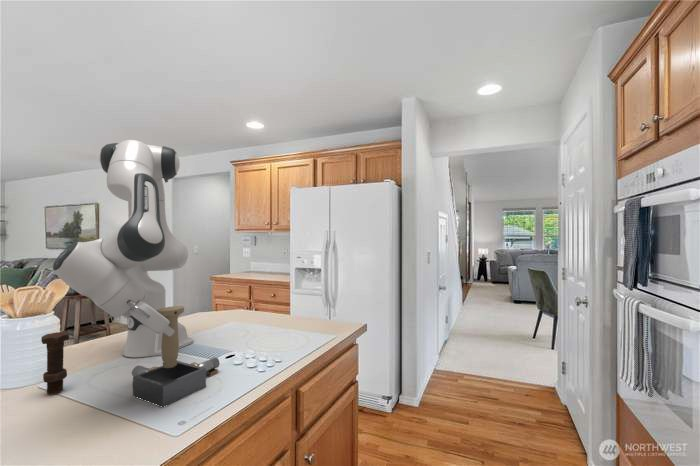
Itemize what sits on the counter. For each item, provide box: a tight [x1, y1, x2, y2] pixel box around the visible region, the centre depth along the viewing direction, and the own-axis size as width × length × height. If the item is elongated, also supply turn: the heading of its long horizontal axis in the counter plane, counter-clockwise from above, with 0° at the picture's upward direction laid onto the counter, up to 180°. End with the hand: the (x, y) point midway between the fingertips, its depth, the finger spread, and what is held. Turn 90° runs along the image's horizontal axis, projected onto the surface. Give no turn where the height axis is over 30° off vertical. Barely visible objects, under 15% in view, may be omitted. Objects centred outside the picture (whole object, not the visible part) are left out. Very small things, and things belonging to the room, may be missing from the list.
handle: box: [156, 305, 185, 368], centre depth 87 cm, size 5×6×15 cm
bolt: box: [41, 331, 70, 396], centre depth 86 cm, size 6×5×15 cm
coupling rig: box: [131, 357, 220, 408], centre depth 92 cm, size 20×20×5 cm
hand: (169, 331), depth 86 cm, fingers closed on handle, 3 cm apart
